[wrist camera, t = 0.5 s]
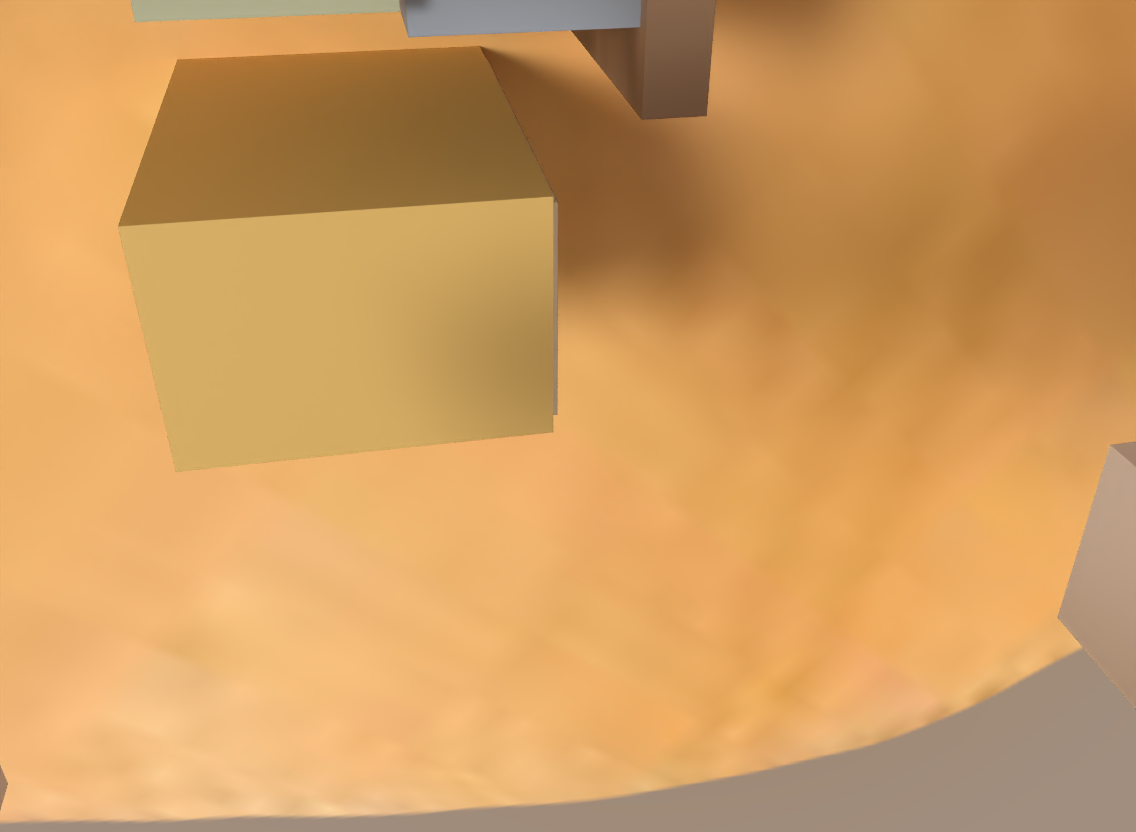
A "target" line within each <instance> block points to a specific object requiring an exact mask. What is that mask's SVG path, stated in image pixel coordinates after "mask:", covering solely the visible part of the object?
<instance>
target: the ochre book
mask: <svg viewBox="0 0 1136 832" xmlns="http://www.w3.org/2000/svg"><path fill="white" fill-rule="evenodd" d="M118 229H119V234H120V238H121V242H122V246H123V251H124V255H125V259H126V263H127V267H128V272H129V276H130V280H131V284H132V289H133V293H134V297H135V301H136V305H137V310H138V314H139V318H140V322H141V327H142V331H143V335H144V339H145V343H146V348H147V352H148V356H149V360H150V365H151V369H152V373H153V377H154V381H155V386H156V390H157V394H158V398H159V402H160V407H161V411H162V415H163V419H164V424H165V428H166V432H167V436H168V440H169V445H170V449H171V453H172V457H173V462H174V466H175V470H176V472H181V471H191V470H200V469H210V468H219V467H229V466H238V465H248V464H257V463H267V462H276V461H285V460H295V459H304V458H314V457H323V456H333V455H342V454H352V453H361V452H371V451H380V450H389V449H399V448H408V447H418V446H427V445H437V444H446V443H456V442H465V441H475V440H484V439H494V438H503V437H512V436H522V435H531V434H541V433H550V432H553V415H557V388H558V201H557V199H556V197H555V195H554V193H553V191H552V189H551V187H550V185H549V183H548V181H547V179H546V177H545V175H544V173H543V171H542V169H541V167H540V165H539V163H538V161H537V159H536V157H535V155H534V153H533V151H532V149H531V147H530V144H529V142H528V140H527V138H526V136H525V134H524V132H523V130H522V128H521V126H520V124H519V122H518V120H517V118H516V116H515V114H514V112H513V110H512V108H511V106H510V104H509V102H508V100H507V98H506V96H505V94H504V92H503V90H502V88H501V86H500V84H499V82H498V80H497V78H496V76H495V74H494V72H493V69H492V67H491V65H490V63H489V61H488V59H487V58H485V56H484V54H483V52H482V50H481V48H480V46H471V47H449V48H427V49H405V50H383V51H360V52H338V53H316V54H294V55H272V56H249V57H227V58H205V59H183V60H177V62H176V65H175V68H174V71H173V74H172V76H171V79H170V82H169V85H168V88H167V90H166V93H165V96H164V99H163V102H162V104H161V107H160V110H159V113H158V116H157V118H156V121H155V124H154V127H153V130H152V132H151V135H150V138H149V141H148V144H147V146H146V149H145V152H144V155H143V158H142V160H141V163H140V166H139V169H138V172H137V174H136V177H135V180H134V183H133V186H132V188H131V191H130V194H129V197H128V199H127V202H126V205H125V208H124V211H123V213H122V216H121V219H120V222H119V225H118Z"/></svg>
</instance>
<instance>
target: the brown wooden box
mask: <svg viewBox="0 0 1136 832" xmlns="http://www.w3.org/2000/svg"><path fill="white" fill-rule="evenodd" d="M715 3H716V0H131V4H132V9H133V14H134V19H135V22H149V21H175V20H201V19H226V18H252V17H277V16H303V15H328V14H354V13H379V12H400V11H401V14H402V17H403V21H404V24H405V27H406V31H407V34H408V37H427V36H450V35H473V34H496V33H519V32H542V31H566V30H571V31H572V32H573V33H574V35H575V36H576V37H577V38H578V40H579V41H580V42H581V43H582V45H583V46H584V47H585V48H586V50H587V51H588V52H589V54H590V55H591V56H592V57H593V59H594V60H595V61H596V62H597V64H598V65H599V66H600V67H601V69H602V70H603V71H604V72H605V74H606V75H607V76H608V77H609V79H610V80H611V81H612V83H613V84H614V85H615V86H616V88H617V89H618V90H619V91H620V93H621V94H622V95H623V96H624V98H625V99H626V100H627V101H628V103H629V104H630V105H631V106H632V108H633V109H634V110H635V112H636V113H637V114H638V115H639V117H640V118H641V119H642V120H646V119H663V118H680V117H697V116H707V104H708V92H709V79H710V66H711V53H712V41H713V28H714V15H715Z"/></svg>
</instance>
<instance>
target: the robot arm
mask: <svg viewBox="0 0 1136 832" xmlns="http://www.w3.org/2000/svg"><path fill="white" fill-rule="evenodd" d="M1058 619H1059V620H1060V621H1061V622H1062V623H1063V625H1064V626H1065V627H1066V628H1067V629H1068V630H1069V632H1070V633H1071V634H1072V635H1073V636H1074V637H1075V639H1076V640H1077V641H1078V642H1079V643H1080V645H1081V646H1082V647H1083V648H1084V649H1085V650H1086V652H1087V653H1088V654H1089V655H1090V656H1091V657H1092V659H1093V660H1094V661H1095V662H1096V663H1097V664H1098V666H1099V667H1100V668H1101V669H1102V670H1103V671H1104V673H1105V674H1106V675H1107V676H1108V677H1109V679H1110V680H1111V681H1112V682H1113V683H1114V684H1115V686H1116V687H1117V688H1118V689H1119V690H1120V692H1121V693H1122V694H1123V695H1124V696H1125V697H1126V699H1127V700H1128V701H1129V702H1130V703H1131V704H1132V706H1133V707H1134V708H1135V709H1136V442H1128V443H1121V444H1113V445H1110V448H1109V451H1108V454H1107V458H1106V461H1105V464H1104V467H1103V471H1102V474H1101V477H1100V481H1099V484H1098V487H1097V490H1096V494H1095V497H1094V500H1093V503H1092V507H1091V510H1090V513H1089V516H1088V520H1087V523H1086V526H1085V530H1084V533H1083V536H1082V539H1081V543H1080V546H1079V549H1078V552H1077V556H1076V559H1075V562H1074V566H1073V569H1072V572H1071V575H1070V579H1069V582H1068V585H1067V588H1066V592H1065V595H1064V598H1063V601H1062V605H1061V608H1060V611H1059V615H1058ZM7 785H8V783H7V780H6V778H5V776H4V773H3V771H2V769H1V766H0V809H1V806H2V802H3V799H4V795H5V792H6V788H7Z"/></svg>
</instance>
